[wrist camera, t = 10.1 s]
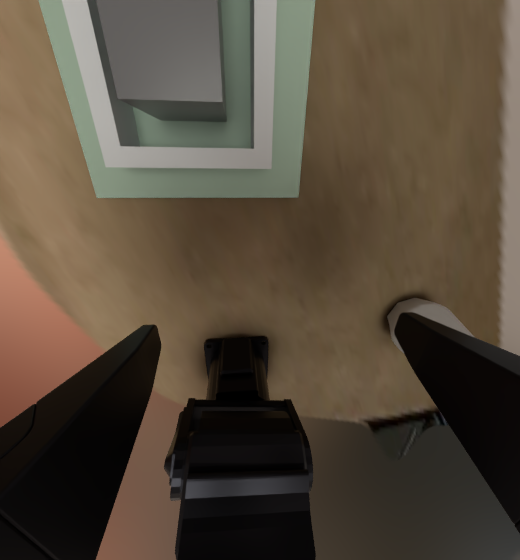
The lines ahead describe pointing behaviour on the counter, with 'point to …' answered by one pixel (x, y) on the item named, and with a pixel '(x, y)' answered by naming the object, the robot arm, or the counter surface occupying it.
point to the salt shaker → (426, 310)
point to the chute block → (167, 57)
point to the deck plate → (194, 134)
